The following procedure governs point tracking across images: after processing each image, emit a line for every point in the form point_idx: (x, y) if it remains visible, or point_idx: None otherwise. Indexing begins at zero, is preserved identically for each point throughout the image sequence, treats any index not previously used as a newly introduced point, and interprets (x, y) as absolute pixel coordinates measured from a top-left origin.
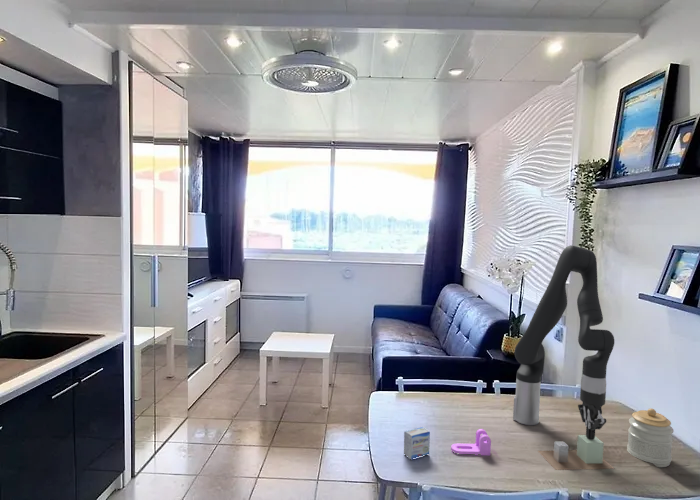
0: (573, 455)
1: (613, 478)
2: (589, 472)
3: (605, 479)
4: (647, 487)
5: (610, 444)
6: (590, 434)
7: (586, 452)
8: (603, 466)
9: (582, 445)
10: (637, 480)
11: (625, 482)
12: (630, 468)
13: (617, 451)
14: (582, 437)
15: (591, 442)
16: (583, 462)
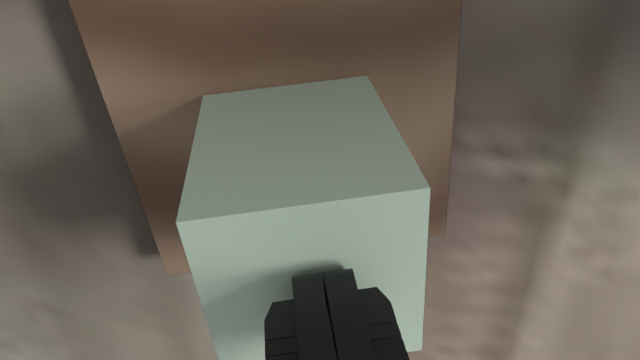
0: (354, 36)
1: (85, 219)
2: None
3: (47, 160)
4: (34, 353)
5: (529, 345)
6: (278, 349)
7: (198, 147)
8: None
9: (288, 156)
10: (107, 335)
11: (52, 269)
12: None
13: (447, 350)
14: (356, 220)
15: (211, 275)
16: (222, 79)
